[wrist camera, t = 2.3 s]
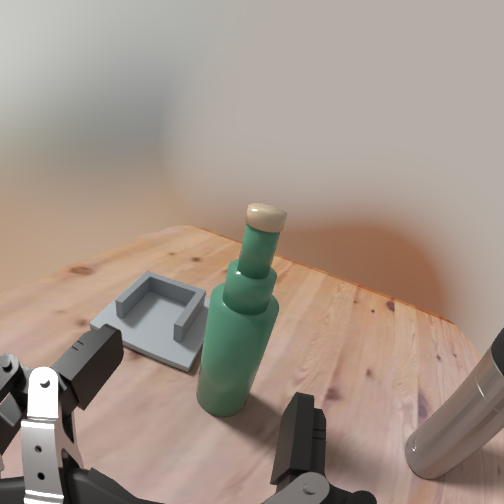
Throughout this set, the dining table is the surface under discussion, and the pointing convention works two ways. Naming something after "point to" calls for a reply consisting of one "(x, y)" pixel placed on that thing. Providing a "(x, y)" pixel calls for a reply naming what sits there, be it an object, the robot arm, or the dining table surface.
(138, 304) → the bottle rest
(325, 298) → the dining table surface
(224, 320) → the bottle
